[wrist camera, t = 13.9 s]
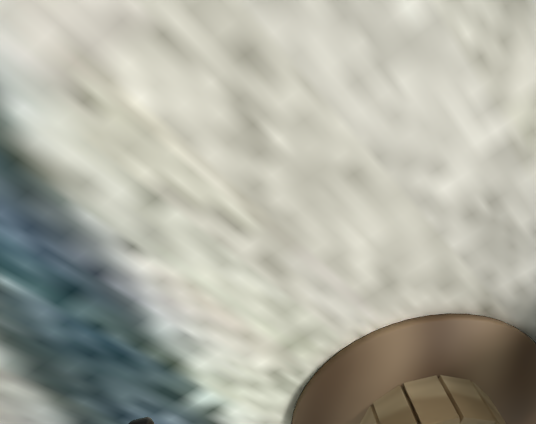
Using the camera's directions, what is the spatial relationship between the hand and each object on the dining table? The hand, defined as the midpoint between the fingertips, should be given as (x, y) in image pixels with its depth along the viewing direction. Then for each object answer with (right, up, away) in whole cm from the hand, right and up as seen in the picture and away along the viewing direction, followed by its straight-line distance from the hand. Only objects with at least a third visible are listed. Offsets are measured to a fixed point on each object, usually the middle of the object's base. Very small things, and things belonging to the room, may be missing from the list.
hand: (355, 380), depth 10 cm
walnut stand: (+8, -10, +19) cm, 23 cm away
